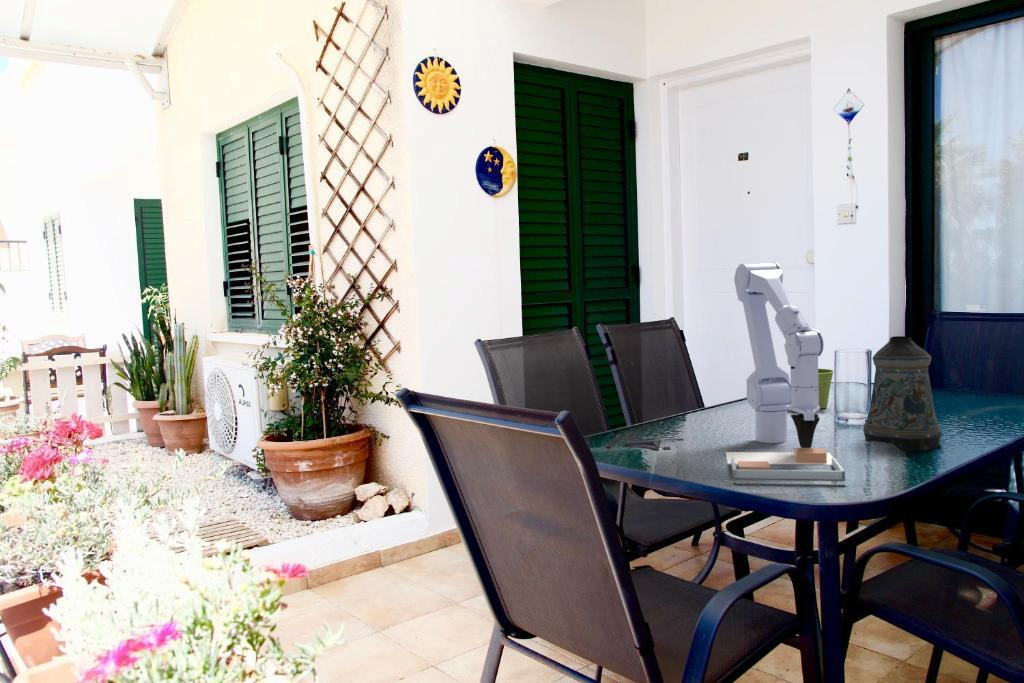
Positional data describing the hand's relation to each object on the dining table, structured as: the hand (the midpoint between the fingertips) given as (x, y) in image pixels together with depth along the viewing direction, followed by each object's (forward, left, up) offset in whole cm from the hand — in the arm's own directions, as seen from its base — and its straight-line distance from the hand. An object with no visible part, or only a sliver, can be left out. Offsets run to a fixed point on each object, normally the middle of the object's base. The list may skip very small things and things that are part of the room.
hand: (805, 447), depth 176 cm
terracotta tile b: (+7, 0, -1) cm, 7 cm away
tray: (+17, -6, -3) cm, 18 cm away
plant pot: (-69, +11, -3) cm, 70 cm away
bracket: (-9, -32, -4) cm, 33 cm away
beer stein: (-19, +23, -3) cm, 30 cm away
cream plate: (+5, -6, -3) cm, 9 cm away
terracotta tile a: (+15, -12, -2) cm, 19 cm away
